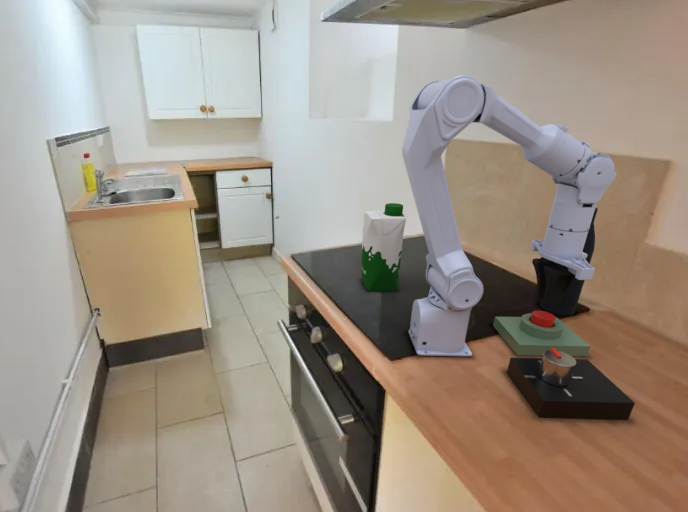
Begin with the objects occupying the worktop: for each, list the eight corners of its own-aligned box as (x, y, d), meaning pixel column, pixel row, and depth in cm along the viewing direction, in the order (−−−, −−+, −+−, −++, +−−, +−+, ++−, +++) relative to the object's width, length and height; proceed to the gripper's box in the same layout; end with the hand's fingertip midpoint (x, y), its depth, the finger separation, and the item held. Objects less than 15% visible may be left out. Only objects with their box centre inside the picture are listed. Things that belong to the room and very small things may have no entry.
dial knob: (575, 386, 54) (583, 364, 53) (547, 386, 54) (553, 364, 53) (559, 369, 58) (566, 348, 56) (532, 368, 58) (538, 347, 56)
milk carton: (401, 292, 90) (410, 209, 82) (364, 293, 90) (369, 210, 82) (391, 277, 98) (398, 200, 91) (357, 278, 98) (361, 201, 90)
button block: (516, 355, 66) (521, 335, 65) (492, 326, 76) (496, 308, 74) (587, 356, 66) (593, 337, 64) (554, 327, 75) (559, 309, 74)
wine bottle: (577, 308, 82) (621, 166, 71) (571, 318, 78) (617, 169, 67) (544, 299, 87) (580, 163, 75) (536, 308, 82) (574, 166, 71)
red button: (536, 328, 68) (538, 319, 67) (526, 318, 71) (528, 310, 70) (557, 328, 68) (559, 320, 67) (546, 318, 71) (548, 310, 70)
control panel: (538, 417, 53) (543, 399, 51) (506, 372, 62) (509, 356, 61) (628, 420, 52) (635, 402, 51) (581, 374, 61) (587, 358, 60)
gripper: (625, 241, 56) (598, 321, 61) (566, 216, 69) (547, 284, 74) (576, 240, 56) (553, 321, 61) (526, 216, 69) (511, 284, 74)
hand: (547, 301), depth 68 cm, fingers closed
